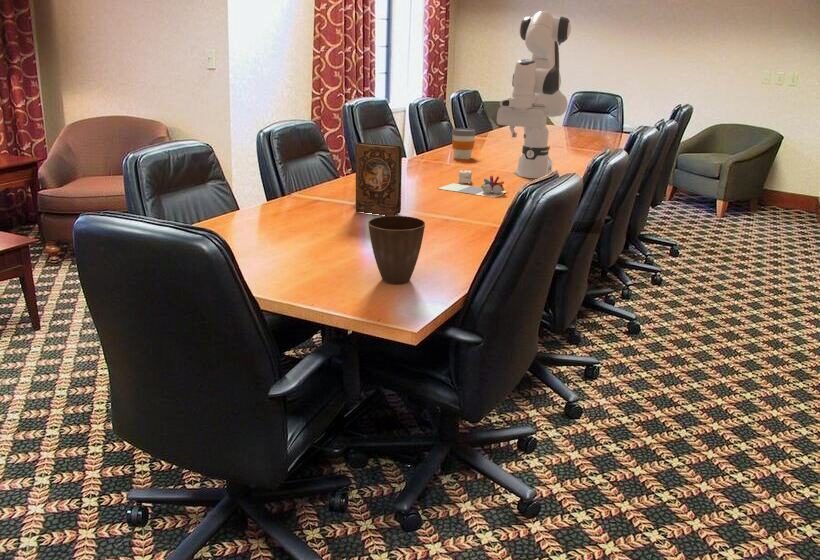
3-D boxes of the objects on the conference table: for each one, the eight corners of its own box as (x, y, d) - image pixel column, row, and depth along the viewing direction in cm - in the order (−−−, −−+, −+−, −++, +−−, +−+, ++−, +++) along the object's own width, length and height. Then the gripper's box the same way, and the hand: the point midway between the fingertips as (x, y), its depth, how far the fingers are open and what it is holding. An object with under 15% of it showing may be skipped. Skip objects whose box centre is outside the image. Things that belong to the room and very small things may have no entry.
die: (460, 181, 315) (460, 170, 313) (471, 181, 314) (471, 170, 313) (458, 183, 310) (459, 172, 309) (469, 184, 310) (470, 172, 308)
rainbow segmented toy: (503, 195, 288) (504, 178, 285) (479, 194, 289) (480, 176, 287) (504, 191, 296) (505, 174, 293) (481, 189, 297) (483, 173, 295)
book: (353, 212, 255) (353, 144, 246) (359, 209, 260) (359, 142, 251) (395, 217, 250) (397, 147, 241) (400, 214, 255) (402, 145, 246)
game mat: (452, 183, 309) (452, 183, 309) (508, 191, 296) (508, 191, 296) (437, 189, 298) (437, 188, 297) (495, 197, 285) (495, 197, 285)
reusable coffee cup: (447, 156, 378) (448, 128, 373) (468, 155, 382) (470, 127, 377) (455, 160, 367) (457, 131, 362) (477, 159, 370) (479, 130, 365)
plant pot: (358, 284, 183) (358, 225, 178) (380, 267, 197) (381, 212, 191) (411, 292, 178) (413, 232, 173) (430, 275, 192) (432, 219, 186)
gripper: (550, 104, 272) (547, 139, 277) (502, 100, 282) (500, 134, 287) (544, 105, 267) (541, 141, 272) (496, 101, 277) (493, 136, 282)
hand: (520, 137), depth 279 cm, fingers open, 4 cm apart
